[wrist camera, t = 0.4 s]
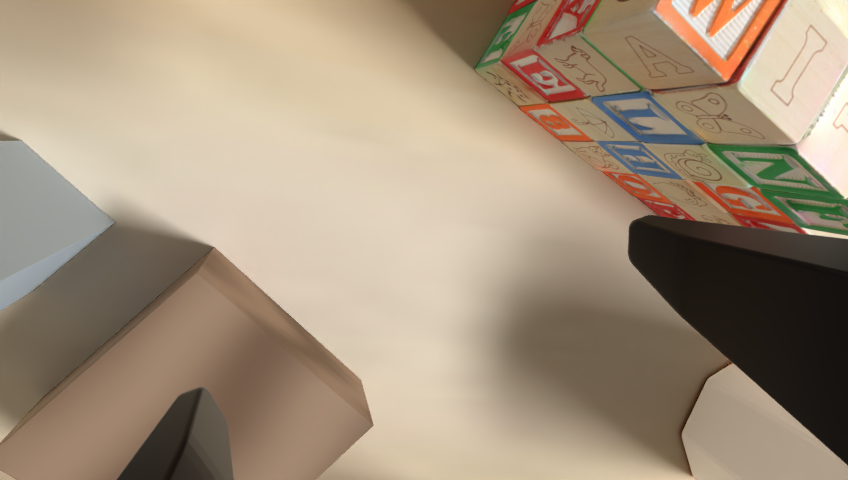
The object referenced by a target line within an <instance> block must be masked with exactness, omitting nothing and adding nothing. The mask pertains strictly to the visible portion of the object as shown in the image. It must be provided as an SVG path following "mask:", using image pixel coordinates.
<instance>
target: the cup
mask: <svg viewBox="0 0 848 480" xmlns="http://www.w3.org/2000/svg"><path fill="white" fill-rule="evenodd" d="M682 440H683V443H684V447H685V450H686V454H687V457H688V461H689V464H690V468H691V472H692V475H693V477H694V478H695V479H696V480H848V466H847V465H846V464H845V463H844V462H843V461H842V460H841V459H840V458H839V457H837V456H836V455H835V454H834V453H833V452H832V451H831V450H830V449H828V448H827V447H826V446H825V445H824V444H823V443H822V442H821V441H820V440H818V439H817V438H816V437H815V436H814V435H813V434H812V433H811V432H809V431H808V430H807V429H806V428H805V427H804V426H803V425H802V424H801V423H799V422H798V421H797V420H796V419H795V418H794V417H793V416H792V415H790V414H789V413H788V412H787V411H786V410H785V409H784V408H783V407H782V406H780V405H779V404H778V403H777V402H776V401H775V400H774V399H773V398H771V397H770V396H769V395H768V394H767V393H766V392H765V391H764V390H763V389H761V388H760V387H759V386H758V385H757V384H756V383H755V382H754V381H752V380H751V379H750V378H749V377H748V376H747V375H746V374H745V373H744V372H742V371H741V370H740V369H739V368H738V367H737V366H736V365H735V364H733V363H732V364H730V365H729V366H727V367H725V368H724V369H722V370H721V371H719V372H717V373H716V374H714V375H713V376H711V377H710V378H709V379H707V381H706V383H705V385H704V387H703V389H702V391H701V394H700V396H699V398H698V400H697V402H696V404H695V406H694V408H693V410H692V413H691V415H690V417H689V419H688V421H687V423H686V425H685V427H684V429H683V431H682Z"/></svg>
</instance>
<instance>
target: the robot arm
mask: <svg viewBox="0 0 848 480" xmlns="http://www.w3.org/2000/svg"><path fill="white" fill-rule="evenodd" d="M628 255H629V259H630V261H631V263H632V264H633V265H634V266H635V268H636V269H637V270H638V271H639V272H640V273H641V274H642V275H643V276H644V277H645V278H646V280H647V281H648V282H649V283H650V284H651V285H652V286H653V287H654V288H655V289H656V290H657V292H658V293H659V294H660V295H661V296H662V297H663V298H664V299H665V300H666V301H667V302H668V303H669V305H670V306H671V307H672V308H673V309H674V310H675V311H676V312H677V313H678V314H679V315H680V316H681V317H682V318H683V319H684V320H686V321H687V322H688V323H689V324H690V325H691V326H692V327H693V328H694V329H695V330H697V331H698V332H699V333H700V334H701V335H702V336H703V337H704V338H706V339H707V340H708V341H709V342H710V343H711V344H712V345H713V346H714V347H716V348H717V349H718V350H719V351H720V352H721V353H722V354H723V355H725V356H726V357H727V358H728V359H729V360H730V361H731V362H732V363H733V364H735V365H736V366H737V367H738V368H739V369H740V370H741V371H742V372H744V373H745V374H746V375H747V376H748V377H749V378H750V379H751V380H752V381H754V382H755V383H756V384H757V385H758V386H759V387H760V388H761V389H763V390H764V391H765V392H766V393H767V394H768V395H769V396H770V397H771V398H773V399H774V400H775V401H776V402H777V403H778V404H779V405H780V406H782V407H783V408H784V409H785V410H786V411H787V412H788V413H789V414H790V415H792V416H793V417H794V418H795V419H796V420H797V421H798V422H799V423H801V424H802V425H803V426H804V427H805V428H806V429H807V430H808V431H809V432H811V433H812V434H813V435H814V436H815V437H816V438H817V439H818V440H820V441H821V442H822V443H823V444H824V445H825V446H826V447H827V448H828V449H830V450H831V451H832V452H833V453H834V454H835V455H836V456H837V457H839V458H840V459H841V460H842V461H843V462H844V463H845V464H846V465H847V466H848V239H844V238H835V237H827V236H819V235H810V234H802V233H794V232H785V231H777V230H769V229H761V228H752V227H744V226H736V225H727V224H719V223H711V222H702V221H694V220H686V219H677V218H669V217H661V216H653V215H648V216H644V217H642V218H639V219H636V220H634V221H632V222H631V224H630V226H629V239H628ZM116 480H234V477H233V467H232V458H231V449H230V440H229V431H228V425H227V421H226V418H225V416H224V414H223V413H222V411H221V409H220V408H219V406H218V405H217V403H216V402H215V400H214V398H213V397H212V395H211V394H210V392H209V391H208V390H207V389H206V388H205V387H198V388H195V389H193V390H190V391H187V392H185V393H182V394H180V395H179V396H178V397H177V398H176V400H175V401H174V402H173V404H172V405H171V406H170V408H169V409H168V410H167V412H166V413H165V415H164V416H163V417H162V419H161V420H160V421H159V423H158V424H157V425H156V427H155V428H154V429H153V431H152V432H151V433H150V435H149V436H148V438H147V439H146V440H145V442H144V443H143V444H142V446H141V447H140V448H139V450H138V451H137V452H136V454H135V455H134V456H133V458H132V459H131V460H130V462H129V463H128V465H127V466H126V467H125V469H124V470H123V471H122V473H121V474H120V475H119V477H118V478H117V479H116Z"/></svg>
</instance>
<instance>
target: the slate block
mask: <svg viewBox="0 0 848 480" xmlns="http://www.w3.org/2000/svg"><path fill="white" fill-rule="evenodd" d="M114 223H115V222H114V221H113V220H112V219H111V218H110V217H108V216H107V215H106V214H105V213H104V212H103V211H102V210H100V209H99V208H98V207H97V206H96V205H95V204H94V203H92V202H91V201H90V200H89V199H88V198H87V197H86V196H84V195H83V194H82V193H81V192H80V191H79V190H78V189H76V188H75V187H74V186H73V185H72V184H71V183H70V182H68V181H67V180H66V179H65V178H64V177H63V176H62V175H60V174H59V173H58V172H57V171H56V170H55V169H54V168H52V167H51V166H50V165H49V164H48V163H47V162H46V161H44V160H43V159H42V158H41V157H40V156H39V155H38V154H37V153H35V152H34V151H33V150H32V149H31V148H30V147H29V146H27V145H26V144H25V143H24V142H23V141H22V140H18V141H0V311H1V310H3V309H4V308H6V307H8V306H9V305H11V304H12V303H14V302H16V301H17V300H19V299H21V298H22V297H24V296H26V295H27V294H29V293H30V292H32V291H33V290H35V289H36V288H37V287H38V286H39V285H41V284H42V283H43V282H44V281H45V280H47V279H48V278H49V277H50V276H51V275H53V274H54V273H55V272H56V271H57V270H59V269H60V268H61V267H62V266H64V265H65V264H66V263H67V262H68V261H70V260H71V259H72V258H73V257H74V256H76V255H77V254H78V253H79V252H80V251H82V250H83V249H84V248H85V247H86V246H88V245H89V244H90V243H91V242H92V241H94V240H95V239H96V238H97V237H98V236H100V235H101V234H102V233H103V232H105V231H106V230H107V229H108V228H109V227H111V226H112V225H113V224H114Z"/></svg>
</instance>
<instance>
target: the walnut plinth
mask: <svg viewBox="0 0 848 480" xmlns="http://www.w3.org/2000/svg"><path fill="white" fill-rule="evenodd" d="M198 387H205V388H206V389H207V390H208V391H209V392H210V394H211V395H212V397H213V398H214V400H215V402H216V403H217V405H218V406H219V408H220V409H221V411H222V413H223V414H224V416H225V418H226V421H227V425H228V431H229V440H230V449H231V458H232V467H233V477H234V480H315V479H317V478H318V477H319V476H320V475H321V474H322V473H323V472H324V471H325V470H326V469H327V468H328V467H329V466H331V465H332V464H333V463H334V462H335V461H336V460H337V459H338V458H339V457H340V456H341V455H342V454H343V453H344V452H346V451H347V450H348V449H349V448H350V447H351V446H352V445H353V444H354V443H355V442H356V441H357V440H358V439H360V438H361V437H362V436H363V435H364V434H365V433H366V432H367V431H368V430H369V429H370V428H371V427H372V426H373V422H372V418H371V415H370V411H369V408H368V404H367V400H366V397H365V393H364V389H363V386H362V382H361V380H360V379H359V378H358V377H357V376H356V375H355V374H354V373H353V372H352V371H350V370H349V369H348V368H347V367H346V366H345V365H344V364H343V363H342V362H340V361H339V360H338V359H337V358H336V357H335V356H334V355H333V354H332V353H331V352H329V351H328V350H327V349H326V348H325V347H324V346H323V345H322V344H321V343H319V342H318V341H317V340H316V339H315V338H314V337H313V336H312V335H311V334H310V333H308V332H307V331H306V330H305V329H304V328H303V327H302V326H301V325H300V324H299V323H297V322H296V321H295V320H294V319H293V318H292V317H291V316H290V315H289V314H287V313H286V312H285V311H284V310H283V309H282V308H281V307H280V306H279V305H278V304H276V303H275V302H274V301H273V300H272V299H271V298H270V297H269V296H268V295H266V294H265V293H264V292H263V291H262V290H261V289H260V288H259V287H258V286H257V285H255V284H254V283H253V282H252V281H251V280H250V279H249V278H248V277H247V276H246V275H244V274H243V273H242V272H241V271H240V270H239V269H238V268H237V267H236V266H234V265H233V264H232V263H231V262H230V261H229V260H228V259H227V258H226V257H225V256H223V255H222V254H221V253H220V252H219V251H218V250H217V249H216V248H215V247H214V248H213V249H212V250H211V251H210V252H208V253H207V254H206V255H205V256H204V257H203V258H202V259H200V260H199V261H198V262H197V263H196V264H195V265H194V266H192V267H191V268H190V269H189V270H188V271H187V272H186V273H185V274H183V275H182V276H181V277H180V278H179V279H178V280H177V281H175V282H174V283H173V284H172V285H171V286H170V287H169V288H167V289H166V290H165V291H164V292H163V293H162V294H161V295H159V296H158V297H157V298H156V299H155V300H154V301H153V302H152V303H150V304H149V305H148V306H147V307H146V308H145V309H144V310H142V311H141V312H140V313H139V314H138V315H137V316H136V317H134V318H133V319H132V320H131V321H130V322H129V323H128V324H126V325H125V326H124V327H123V328H122V329H121V330H120V331H119V332H117V333H116V334H115V335H114V336H113V337H112V338H111V339H109V340H108V341H107V342H106V343H105V344H104V345H103V346H101V347H100V348H99V349H98V350H97V351H96V352H95V353H93V354H92V355H91V356H90V357H89V358H88V359H87V360H86V361H84V362H83V363H82V364H81V365H80V366H79V367H78V368H76V369H75V370H74V371H73V372H72V373H71V374H70V375H68V376H67V377H66V378H65V379H64V380H63V381H62V382H60V383H59V384H58V385H57V386H56V387H55V388H54V389H53V390H51V391H50V392H49V393H48V394H47V395H46V396H45V397H43V398H42V399H41V400H40V401H39V402H38V403H37V404H36V405H35V407H34V408H33V409H32V410H31V411H30V412H29V413H28V414H27V415H26V416H25V417H24V418H23V419H22V420H21V421H20V422H19V424H18V425H17V426H16V427H15V428H14V429H13V430H12V431H11V432H10V433H9V434H8V435H7V436H6V437H5V438H4V439H3V441H2V442H1V443H0V470H1V471H3V472H4V473H6V474H8V475H10V476H11V477H13V478H15V479H17V480H116V479H117V478H118V477H119V475H120V474H121V473H122V471H123V470H124V469H125V467H126V466H127V465H128V463H129V462H130V460H131V459H132V458H133V456H134V455H135V454H136V452H137V451H138V450H139V448H140V447H141V446H142V444H143V443H144V442H145V440H146V439H147V438H148V436H149V435H150V433H151V432H152V431H153V429H154V428H155V427H156V425H157V424H158V423H159V421H160V420H161V419H162V417H163V416H164V415H165V413H166V412H167V410H168V409H169V408H170V406H171V405H172V404H173V402H174V401H175V400H176V398H177V397H178V396H179V395H180V394H182V393H185V392H187V391H190V390H193V389H195V388H198Z"/></svg>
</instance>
